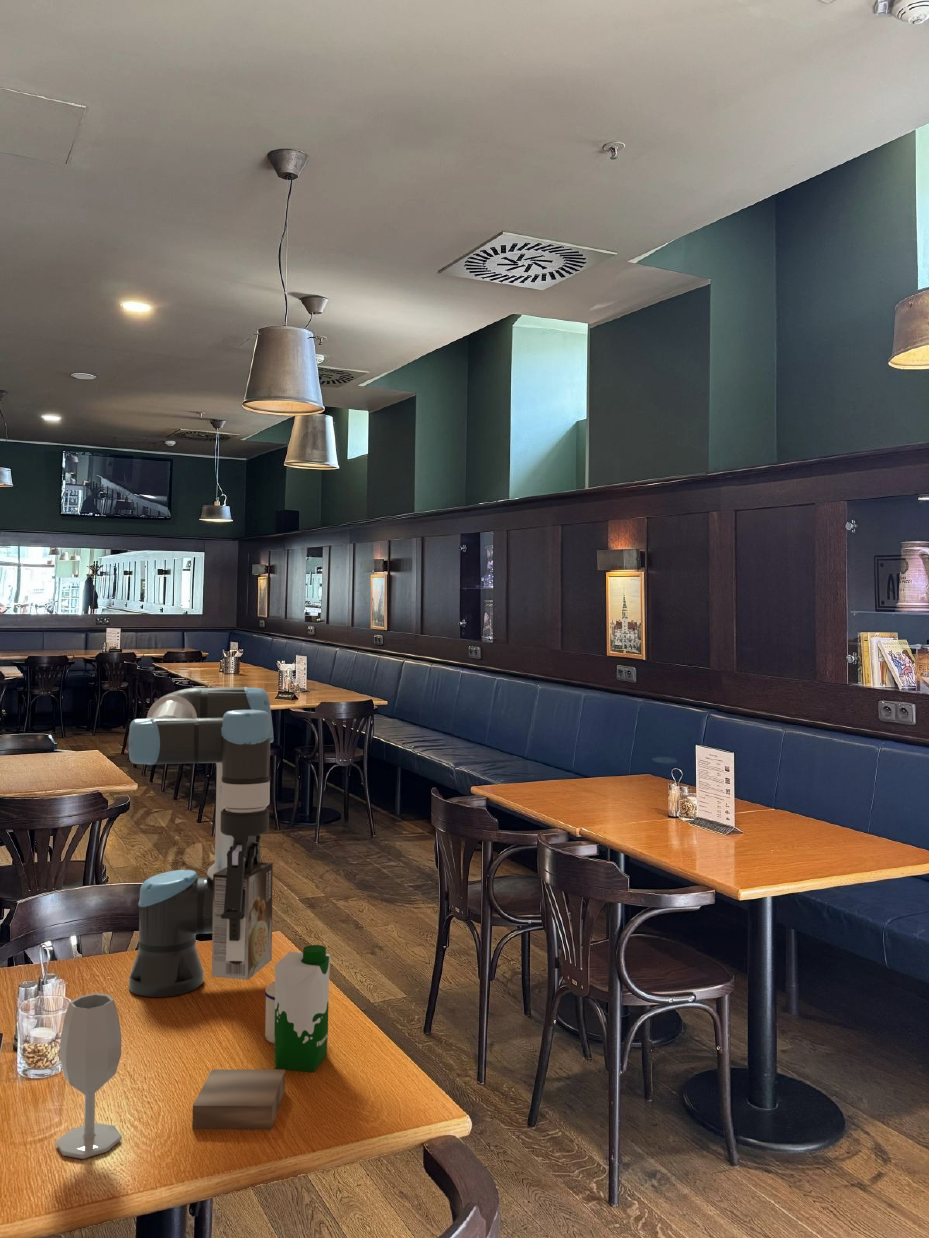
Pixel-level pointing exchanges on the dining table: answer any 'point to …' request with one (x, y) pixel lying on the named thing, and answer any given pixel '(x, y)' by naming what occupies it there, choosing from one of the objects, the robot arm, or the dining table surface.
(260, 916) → the coffee box
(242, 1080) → the brown flat block
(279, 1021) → the milk carton
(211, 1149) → the dining table surface
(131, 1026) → the dining table surface
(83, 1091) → the wineglass
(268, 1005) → the teacup with lid
